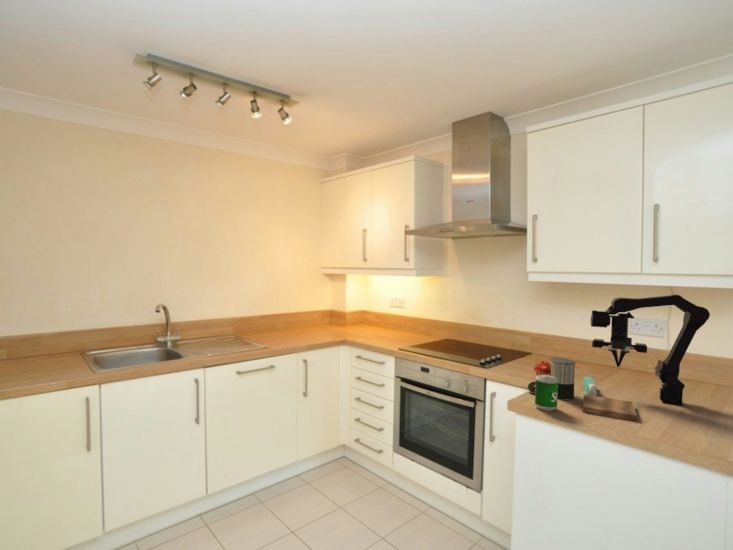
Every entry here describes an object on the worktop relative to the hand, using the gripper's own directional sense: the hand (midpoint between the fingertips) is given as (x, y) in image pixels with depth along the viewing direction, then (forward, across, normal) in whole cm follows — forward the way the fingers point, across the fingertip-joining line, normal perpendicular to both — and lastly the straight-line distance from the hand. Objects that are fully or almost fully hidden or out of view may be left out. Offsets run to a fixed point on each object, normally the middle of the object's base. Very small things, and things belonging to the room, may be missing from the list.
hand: (618, 366), depth 162 cm
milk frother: (+12, -22, -16) cm, 30 cm away
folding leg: (+12, -10, -3) cm, 15 cm away
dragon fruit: (+12, -29, +10) cm, 33 cm away
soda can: (+12, -21, -34) cm, 42 cm away
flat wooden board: (+12, -2, -21) cm, 25 cm away
